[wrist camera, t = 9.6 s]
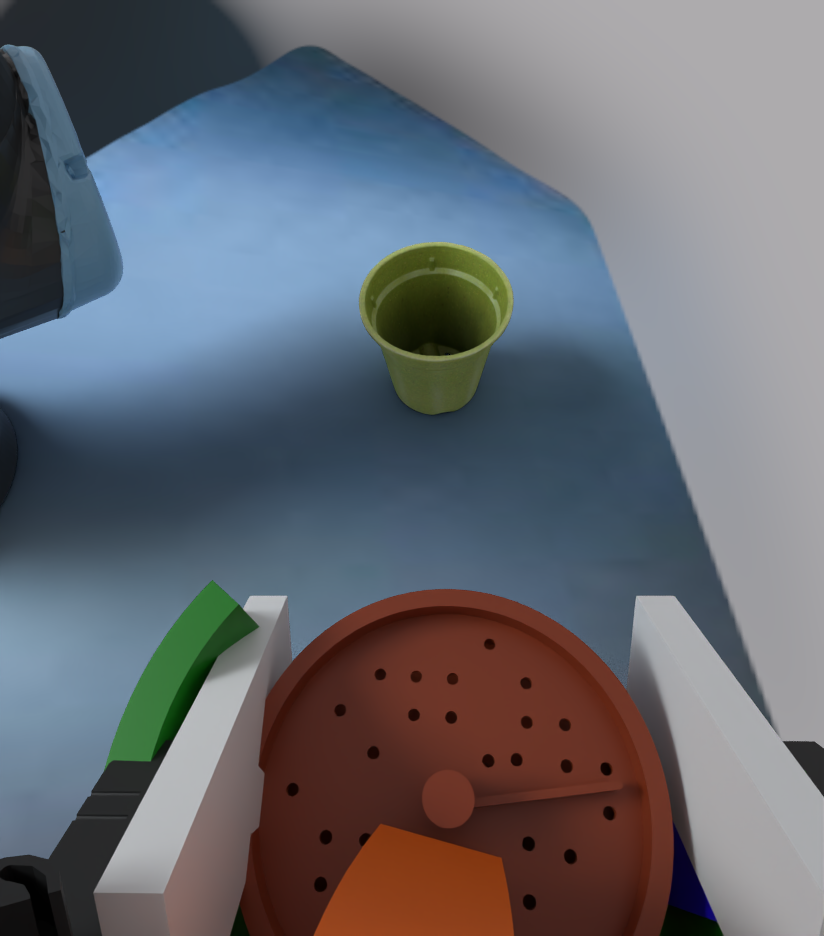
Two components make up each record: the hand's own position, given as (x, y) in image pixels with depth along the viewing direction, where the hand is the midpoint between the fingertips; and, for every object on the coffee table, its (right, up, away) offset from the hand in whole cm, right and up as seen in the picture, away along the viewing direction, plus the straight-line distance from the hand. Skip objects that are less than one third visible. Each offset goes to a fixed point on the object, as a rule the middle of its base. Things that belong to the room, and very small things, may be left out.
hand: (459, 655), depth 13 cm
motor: (0, -9, +9) cm, 13 cm away
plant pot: (+1, +10, +34) cm, 36 cm away
